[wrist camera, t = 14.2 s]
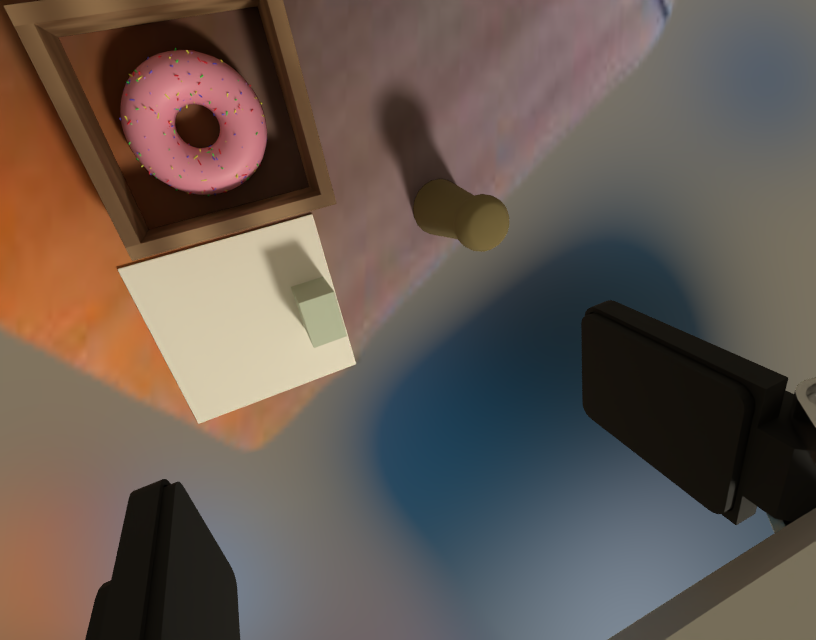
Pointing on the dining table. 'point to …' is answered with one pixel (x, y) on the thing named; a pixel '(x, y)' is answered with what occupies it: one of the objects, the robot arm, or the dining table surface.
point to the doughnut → (180, 86)
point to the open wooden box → (39, 30)
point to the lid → (243, 315)
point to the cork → (461, 215)
